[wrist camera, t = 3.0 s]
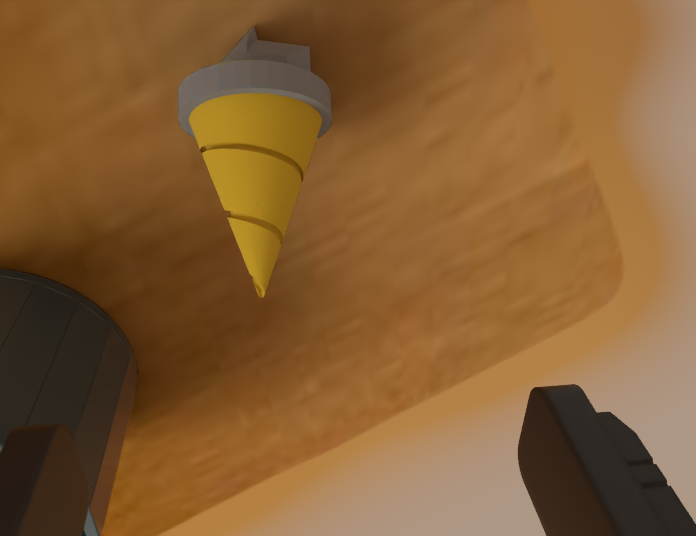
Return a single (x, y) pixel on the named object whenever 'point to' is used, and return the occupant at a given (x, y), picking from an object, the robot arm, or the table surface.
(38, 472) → the robot arm
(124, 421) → the pen pot
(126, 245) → the table surface
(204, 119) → the spiral grooved cone
